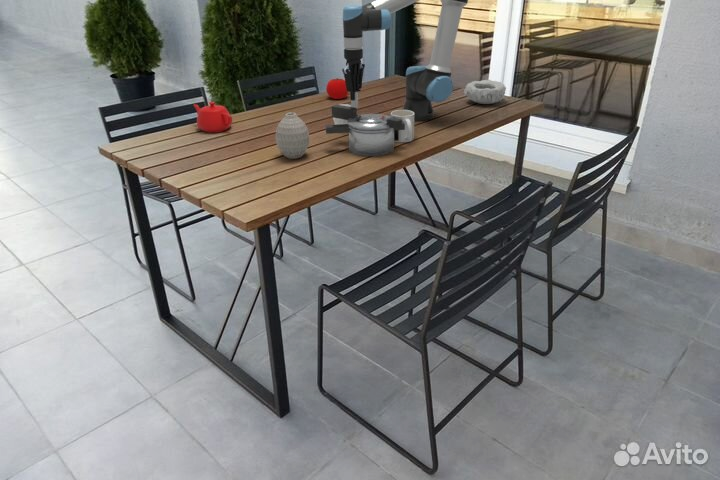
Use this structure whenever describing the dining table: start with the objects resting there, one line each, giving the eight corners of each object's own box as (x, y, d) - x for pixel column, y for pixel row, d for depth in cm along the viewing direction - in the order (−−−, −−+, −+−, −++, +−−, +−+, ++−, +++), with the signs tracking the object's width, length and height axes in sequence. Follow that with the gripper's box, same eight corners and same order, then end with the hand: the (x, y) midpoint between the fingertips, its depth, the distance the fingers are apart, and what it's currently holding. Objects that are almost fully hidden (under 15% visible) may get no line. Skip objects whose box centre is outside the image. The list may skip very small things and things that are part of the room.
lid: (412, 122, 214) (412, 110, 212) (387, 135, 201) (387, 122, 198) (347, 111, 230) (347, 100, 227) (320, 122, 216) (319, 110, 214)
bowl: (511, 101, 279) (513, 81, 274) (497, 110, 264) (499, 89, 259) (472, 96, 289) (474, 77, 284) (457, 105, 274) (458, 85, 269)
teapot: (246, 129, 245) (243, 102, 240) (219, 138, 235) (215, 110, 229) (210, 120, 259) (206, 94, 253) (183, 128, 248) (178, 101, 242)
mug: (417, 136, 231) (418, 110, 226) (410, 145, 221) (411, 118, 216) (394, 134, 234) (394, 108, 229) (386, 143, 224) (386, 116, 219)
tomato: (348, 101, 285) (347, 80, 280) (326, 101, 286) (325, 81, 281) (349, 95, 296) (348, 75, 291) (327, 95, 296) (326, 76, 291)
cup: (342, 133, 237) (341, 110, 232) (326, 127, 245) (324, 104, 240) (357, 129, 241) (356, 106, 237) (340, 123, 250) (339, 101, 245)
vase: (297, 164, 205) (293, 120, 197) (270, 158, 211) (266, 115, 203) (317, 153, 214) (314, 111, 206) (291, 148, 221) (287, 107, 213)
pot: (399, 139, 228) (400, 116, 223) (407, 154, 212) (408, 129, 207) (325, 143, 225) (324, 119, 221) (328, 158, 209) (326, 133, 204)
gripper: (354, 45, 222) (356, 102, 234) (335, 49, 213) (338, 109, 224) (370, 46, 218) (370, 105, 230) (351, 51, 209) (353, 112, 220)
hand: (354, 107), depth 227 cm, fingers closed
